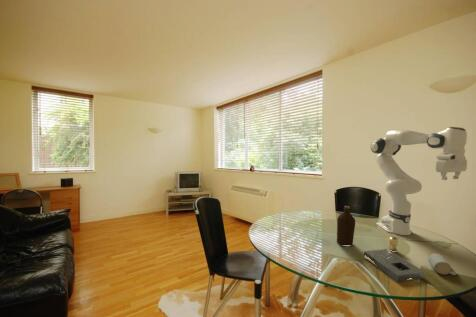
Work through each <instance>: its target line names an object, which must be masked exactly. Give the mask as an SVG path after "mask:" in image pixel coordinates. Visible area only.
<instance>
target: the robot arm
mask: <svg viewBox="0 0 476 317" xmlns="http://www.w3.org/2000/svg"><path fill="white" fill-rule="evenodd" d="M467 136H468V134H467V130H466V129H465V128H463V127H458V126H457V127H456V126H449V127H447V128H446V129H444V130H441V131H437V132H433V133H423V132H418V131H414V130H409V129H403V128H402V129H391V130H388V131H387V132H386V133H385V136H384V138H382V137H380V138H378V139H375V140H374V141H372V143H370V150H371V152H372V153H373V154H377V155H376V157H375V159H376V163H377V165H378V167H379V169H380V170H381V171H382V173H383V174H384V176H385V177H386V178H388V179H389V180H388V181H386V183H385V185H384V188H385V191H386V192H387V193H388V194H389V195H390V198H391V210H388V213H389V214H386V215H384V216H382V217H381V218H380V221H377V222H376V226H379V227H380V228H381V229H383V230H385V231H386V232H388V233H390V234H396V235H401V236H410V235H411V234H412V232H411V226H410V225H411V224H410V222H411V219H412V218H411V215H412V214H411V209H412V203H411V202H410V201H409V200H408V199H407V195H414V194H417V193H419V192H421V190H422V187H423V186H422V183H421V181H419V180H418V179H416V178H413V177H412V176H410V175H409V174H407V173H406V172H405V171H404V170H403V169H402V168H401V167H400V165H399V164H398V163H397V161H396V160H395V159H394V158H393V156H396V155H397V153H398V152H399V151H401V148H402V146H411V145H413V146H414V145H420V144H421V145H422V144H426V145H427V146H428V147H429V148H432V149H436V150H437V149H440V150H442V149H443V151H442V152H441V153H438V154H437V155H436V161H435V162H436V163H435V172H436V173H440V176H441V180H443V181H447V180H448V176H447V175H448V173H454V174H453V176H452V179H453V180H459V176H460V175H461V173H462V172H466V170H467V169H468V167H467V166H468V160H467V158H466V157H465V152H466V148H465V147H466V145H467V138H468V137H467Z"/></svg>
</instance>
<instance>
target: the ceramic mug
mask: <svg viewBox="0 0 476 317" xmlns="http://www.w3.org/2000/svg"><path fill="white" fill-rule="evenodd" d="M427 259H428V260H427V261H428V263H429V265H430V266H431V267H432V268H433V270H434V272H436V273H438V274H439V275H442V276H443V275H444V276H445V275H449V274H450V275H452V276H456V275H457V273H458V272H457V271H456V270H455V269H454V268H453V267H452V266H451V265H450V262H448V261H447V259H446V258H445V256H443V255H442V254H439V253H432V254H430V255H429V256H428V258H427Z"/></svg>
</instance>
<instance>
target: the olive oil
mask: <svg viewBox="0 0 476 317" xmlns="http://www.w3.org/2000/svg"><path fill="white" fill-rule="evenodd" d="M355 229H356V219H355V217H354V216H353V215H352V214H351V206H349V205H344V208H343V212H341V213H340V214H339V215H338V216H337V220H336V243H337V244H338V243H339V244H341V245H352V244H353V243H354V237H355ZM339 244H338V245H339ZM341 245H340V246H341ZM352 246H353V245H352Z"/></svg>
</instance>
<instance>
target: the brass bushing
mask: <svg viewBox="0 0 476 317" xmlns="http://www.w3.org/2000/svg"><path fill="white" fill-rule="evenodd" d="M398 243H399V238H397V237H395V236H389V238H388V248H387V249H389V250H392V251H397V252H398V246H399V245H398Z"/></svg>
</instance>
